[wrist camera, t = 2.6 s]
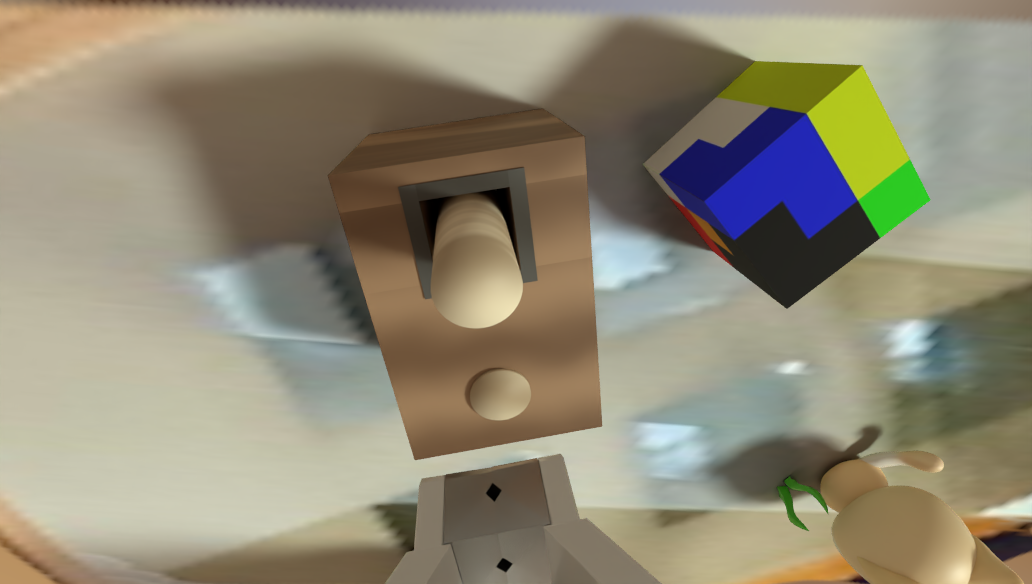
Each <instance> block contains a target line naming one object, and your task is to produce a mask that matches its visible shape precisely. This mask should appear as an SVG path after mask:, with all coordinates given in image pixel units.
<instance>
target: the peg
mask: <svg viewBox="0 0 1032 584" xmlns="http://www.w3.org/2000/svg"><path fill="white" fill-rule="evenodd" d="M522 292H523V281H522V276H521V273H520V269H519V266H518V263H517V259H516V256H515V252H514V249H513V246H512V242H511V239H510V236H509V232H508V229H507V226H506V222H505V219H504V216H503V212H502V209H501V205H500V202H499V199H498V196H497V193H496V191H495V189H493V190H487V191H480V192H474V193H468V194H461V195H455V196H449V197H442V198H439V205H438V216H437V226H436V236H435V246H434V256H433V266H432V276H431V296H432V300H433V302H434V304H435V306H436V308H437V309H438V311H439V312H440V313H441V314H442V315H443V316H444V317H445V318H446V319H447V320H449V321H450V322H452V323H454V324H456V325H459V326H462V327H466V328H485V327H490V326H493V325H496V324H498V323H500V322H501V321H503V320H505V319H506V318H507V317H508V316H510V315H511V314H512V312H513V311H514V310H515V309H516V307H517V306H518V304H519V302H520V299H521V296H522Z"/></svg>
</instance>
